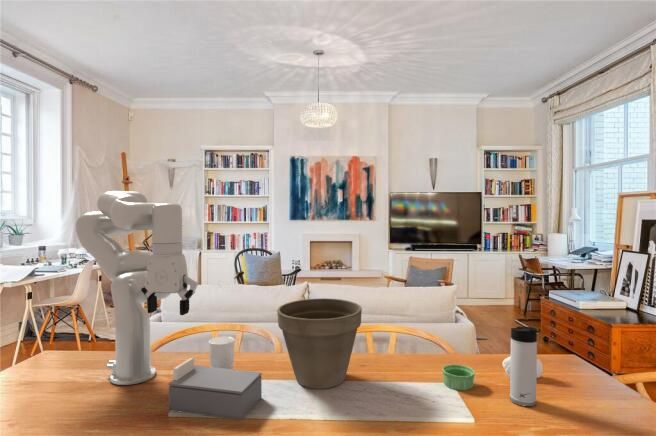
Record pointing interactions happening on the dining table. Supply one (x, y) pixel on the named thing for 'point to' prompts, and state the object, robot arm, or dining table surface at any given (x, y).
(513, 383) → the travel mug
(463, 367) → the ramekin
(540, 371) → the bust
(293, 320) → the plant pot
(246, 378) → the mailer lid
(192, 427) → the dining table surface
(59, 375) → the dining table surface
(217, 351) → the white cup
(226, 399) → the box
